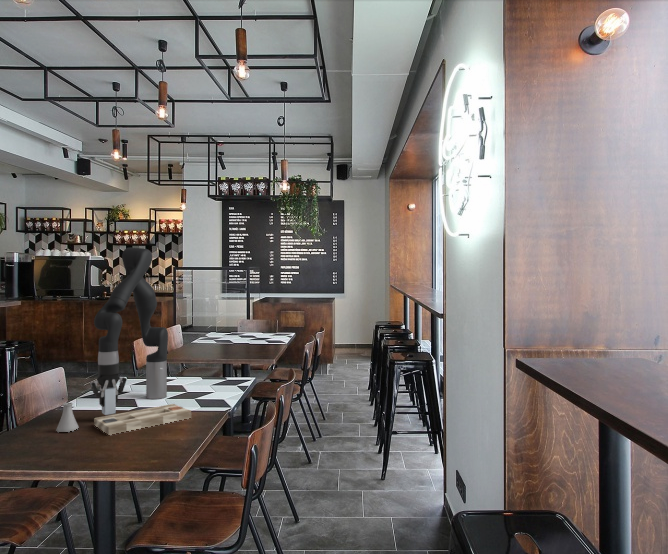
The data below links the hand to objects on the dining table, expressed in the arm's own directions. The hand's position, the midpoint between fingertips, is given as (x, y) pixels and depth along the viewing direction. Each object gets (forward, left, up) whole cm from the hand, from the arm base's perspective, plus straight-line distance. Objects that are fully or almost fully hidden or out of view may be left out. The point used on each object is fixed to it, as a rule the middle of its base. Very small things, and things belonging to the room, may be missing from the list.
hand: (108, 404), depth 198 cm
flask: (+4, -16, -6) cm, 18 cm away
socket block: (+13, +9, -6) cm, 17 cm away
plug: (0, 0, -3) cm, 3 cm away
